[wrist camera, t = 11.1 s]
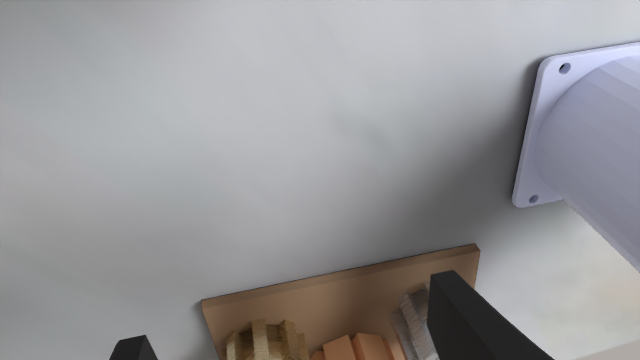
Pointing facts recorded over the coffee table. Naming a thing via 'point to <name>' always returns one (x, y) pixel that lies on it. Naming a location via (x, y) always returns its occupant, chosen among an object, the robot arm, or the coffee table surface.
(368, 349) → the idler gear
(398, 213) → the coffee table surface
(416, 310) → the gear
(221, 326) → the gear board
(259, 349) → the gear
